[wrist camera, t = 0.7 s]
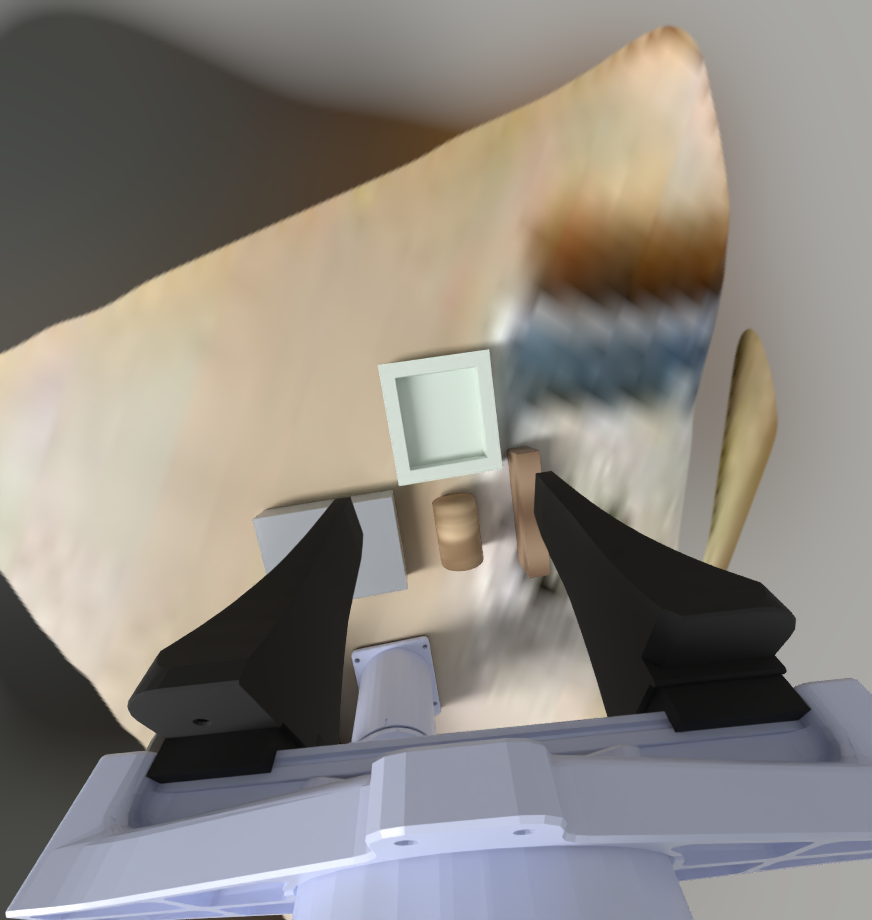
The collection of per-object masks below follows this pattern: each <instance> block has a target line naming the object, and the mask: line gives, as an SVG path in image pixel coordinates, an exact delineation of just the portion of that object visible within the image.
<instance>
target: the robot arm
mask: <svg viewBox="0 0 872 920" xmlns="http://www.w3.org/2000/svg"><path fill="white" fill-rule="evenodd" d="M534 516H535V519H536V522H537V525H538V528H539V531H540V534H541V537H542V539H543V542H544V544H545V546H546V548H547V550H548V552H549V554H550V557H551V559H552V561H553V563H554V565H555V567H556V569H557V571H558V574H559V576H560V578H561V580H562V582H563V584H564V586H565V589H566V591H567V593H568V596H569V598H570V601H571V604H572V607H573V609H574V612H575V615H576V618H577V621H578V624H579V627H580V630H581V633H582V636H583V639H584V642H585V645H586V648H587V651H588V654H589V657H590V660H591V663H592V667H593V670H594V673H595V676H596V679H597V683H598V686H599V689H600V693H601V696H602V700H603V703H604V707H605V710H606V713H607V717H604V718H594V719H584V720H575V721H565V722H555V723H545V724H535V725H526V726H516V727H506V728H496V729H486V730H476V731H467V732H457V733H447V734H437V735H436V726H435V716H434V715H438V714H439V713H440V712H441V707H440V702H439V696H438V690H437V684H436V678H435V673H434V667H433V661H432V655H431V649H430V644H429V639H428V637H426V636H422V637H417V638H412V639H407V640H402V641H397V642H392V643H387V644H382V645H377V646H372V647H367V648H362V649H357V650H354V651H353V652H352V655H351V657H352V662H353V666H354V671H355V675H356V680H357V684H358V688H359V696H358V703H357V709H356V716H355V722H354V729H353V735H352V742H350V743H349V744H339V745H338V739H339V719H340V702H341V688H342V675H343V665H344V654H345V644H346V636H347V627H348V620H349V614H350V609H351V605H352V600H353V595H354V591H355V586H356V582H357V577H358V573H359V568H360V563H361V558H362V548H363V531H362V528H361V525H360V523H359V520H358V517H357V514H356V511H355V508H354V505H353V502H352V500H351V497H345V498H337V499H335V500H334V501H333V502H332V503H331V504H330V506H329V507H328V508H327V509H326V511H325V512H324V513H323V514H322V515H321V517H320V518H319V519H318V520H317V522H316V523H315V524H314V525H313V526H312V528H311V529H310V530H309V531H308V532H307V534H306V535H305V536H304V537H303V538H302V539H301V540H300V542H299V543H298V544H297V545H296V546H295V547H294V548H293V549H292V550H291V551H290V552H289V553H288V555H287V556H286V557H285V558H284V559H283V560H282V561H281V562H280V563H279V564H278V565H277V566H276V567H275V568H273V569H272V570H271V571H270V572H269V573H268V574H267V575H266V576H265V577H264V578H263V579H261V580H260V581H259V582H258V583H257V584H256V585H254V586H253V587H252V588H251V589H249V590H248V591H247V592H246V593H244V594H243V595H242V596H241V597H240V598H238V599H237V600H236V601H235V602H233V603H232V604H231V605H229V606H228V607H227V608H225V609H224V610H223V611H221V612H220V613H218V614H217V615H216V616H214V617H213V618H211V619H210V620H208V621H207V622H206V623H204V624H203V625H201V626H200V627H198V628H197V629H195V630H194V631H192V632H190V633H189V634H187V635H186V636H184V637H182V638H181V639H179V640H178V641H176V642H175V643H173V644H171V645H170V646H168V647H167V648H165V649H163V650H162V651H160V653H159V654H158V656H157V657H156V659H155V660H154V662H153V663H152V665H151V666H150V668H149V670H148V671H147V673H146V674H145V676H144V677H143V679H142V681H141V682H140V684H139V685H138V687H137V688H136V690H135V691H134V693H133V695H132V696H131V698H130V699H129V701H128V706H127V707H128V710H129V712H130V714H131V716H132V717H134V718H135V719H136V720H137V721H138V722H140V723H141V724H143V725H145V726H146V727H148V728H149V729H151V730H152V731H154V732H155V733H157V734H158V735H160V736H161V737H163V738H165V740H164V742H163V744H162V746H161V748H160V750H159V752H158V753H156V752H150V751H139V752H129V753H119V754H109V755H105V756H103V757H102V758H101V759H100V761H99V762H98V764H97V766H96V767H95V769H94V770H93V772H92V774H91V776H90V777H89V779H88V780H87V782H86V784H85V785H84V787H83V788H82V790H81V791H80V793H79V795H78V796H77V798H76V800H75V801H74V803H73V804H72V806H71V808H70V809H69V811H68V812H67V814H66V816H65V817H64V819H63V821H62V822H61V824H60V825H59V827H58V829H57V830H56V832H55V833H54V835H53V837H52V838H51V840H50V842H49V843H48V845H47V846H46V848H45V849H44V851H43V853H42V854H41V856H40V857H39V859H38V861H37V862H36V864H35V866H34V867H33V869H32V870H31V872H30V874H29V875H28V877H27V878H26V880H25V882H24V883H23V885H22V887H21V888H20V890H19V891H18V893H17V895H16V896H15V898H14V899H13V901H12V903H11V904H10V906H9V907H8V909H7V911H6V917H7V918H17V919H27V920H176V919H194V918H215V917H237V916H259V915H280V914H293V915H292V920H694V919H693V916H692V914H691V911H690V909H689V906H688V904H687V901H686V899H685V896H684V894H683V892H682V889H681V887H680V884H679V882H680V881H688V880H696V879H704V878H713V877H721V876H728V875H737V874H745V873H753V872H762V871H770V870H778V869H787V868H795V867H804V866H812V865H820V864H829V863H839V862H848V861H859V860H868V859H872V694H871V693H870V692H869V691H868V690H867V689H866V688H865V687H864V686H863V685H862V684H861V683H860V682H859V681H858V680H856V679H852V678H845V679H836V680H826V681H816V682H808V683H803V684H801V685H798V686H795V687H794V688H793V687H792V686H791V685H790V684H789V682H788V681H787V680H786V679H785V678H784V677H783V675H782V674H785V673H786V668H785V666H784V665H783V664H782V663H781V662H780V661H779V660H778V659H777V657H776V656H775V654H776V653H777V652H778V651H779V649H780V648H781V647H782V646H783V645H784V643H785V642H786V641H787V640H788V639H789V637H790V636H791V634H792V633H793V631H794V630H795V624H796V618H795V617H794V615H793V614H792V612H790V610H789V609H787V607H786V606H784V605H783V604H782V603H781V602H780V601H779V600H778V599H777V598H776V597H775V596H774V595H773V594H772V593H771V592H770V591H769V590H768V589H767V588H766V587H765V586H764V585H763V584H762V583H760V582H758V581H754V580H751V579H749V578H746V577H743V576H740V575H737V574H734V573H731V572H728V571H726V570H723V569H720V568H717V567H714V566H712V565H709V564H707V563H704V562H702V561H699V560H697V559H694V558H692V557H689V556H687V555H685V554H682V553H680V552H678V551H676V550H673V549H671V548H669V547H667V546H665V545H663V544H661V543H659V542H657V541H655V540H653V539H651V538H649V537H647V536H645V535H643V534H641V533H639V532H638V531H636V530H634V529H632V528H631V527H629V526H627V525H625V524H624V523H622V522H620V521H619V520H617V519H615V518H614V517H612V516H611V515H609V514H608V513H606V512H605V511H603V510H602V509H600V508H599V507H597V506H596V505H595V504H593V503H592V502H590V501H589V500H588V499H586V498H585V497H584V496H582V495H581V494H580V493H578V492H577V491H576V490H575V489H573V488H572V487H571V486H570V485H568V484H567V483H566V482H565V481H563V480H562V479H561V478H560V477H558V476H557V475H556V474H555V473H553V472H552V471H549V472H541V473H536V475H535V496H534ZM423 645H427V646H425V647H424V646H423ZM357 658H358V659H359V660H356V659H357Z"/></svg>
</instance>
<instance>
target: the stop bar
mask: <svg viewBox="0 0 872 920" xmlns="http://www.w3.org/2000/svg"><path fill="white" fill-rule="evenodd" d="M507 454H508V463H509V473H510V482H511V491H512V500H513V509H514V519H515V528H516V537H517V546H518V556H519V563H520V565H521V566H522V568H523V569H524V570H525V572H526V573H527V575H528V576H529V577H530V578H534V577H539V576H545V575H550V563H549V552H548V550H547V548H546V546H545V544H544V542H543V539H542V537H541V534H540V531H539V528H538V525H537V522H536V519H535V516H534V496H535V475H536V473H541V463H540V452H539V451H538V450H535V449H533V448H530V447H527V446H526V447H520V448H514V449H508V450H507Z"/></svg>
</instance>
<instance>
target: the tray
mask: <svg viewBox="0 0 872 920" xmlns="http://www.w3.org/2000/svg"><path fill="white" fill-rule="evenodd" d="M378 369H379V375H380V381H381V386H382V392H383V398H384V404H385V409H386V415H387V421H388V426H389V432H390V438H391V444H392V449H393V455H394V461H395V467H396V472H397V478H398V484H399V486H403V485H409V484H415V483H421V482H427V481H433V480H439V479H444V478H450V477H456V476H462V475H468V474H474V473H480V472H486V471H492V470H498V469H502V460H501V451H500V442H499V433H498V424H497V415H496V406H495V397H494V389H493V380H492V371H491V362H490V353H489V349H488V350H481V351H474V352H467V353H460V354H453V355H446V356H439V357H432V358H425V359H418V360H411V361H404V362H396V363H389V364H382V365H378Z"/></svg>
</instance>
